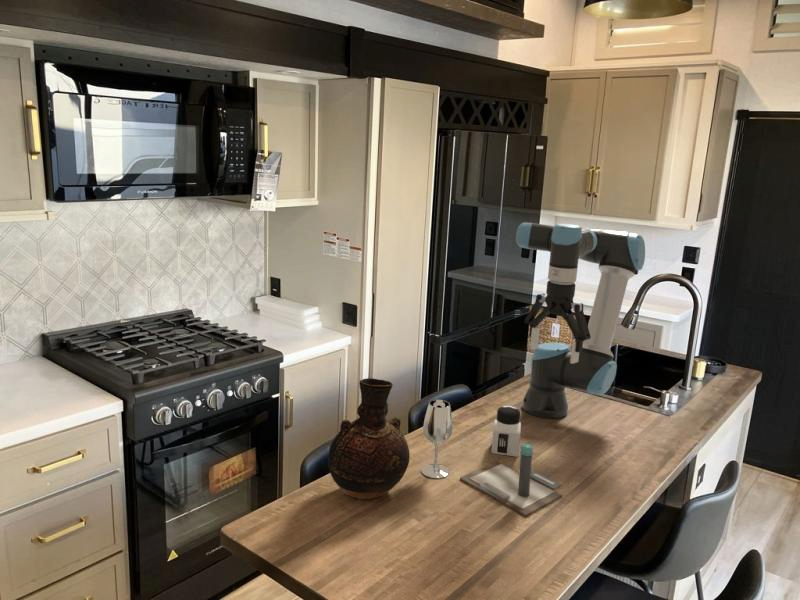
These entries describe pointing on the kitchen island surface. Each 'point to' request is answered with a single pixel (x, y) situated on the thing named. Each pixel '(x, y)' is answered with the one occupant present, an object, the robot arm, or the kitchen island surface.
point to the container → (506, 431)
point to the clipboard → (510, 488)
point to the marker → (525, 469)
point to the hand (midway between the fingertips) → (553, 355)
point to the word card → (545, 480)
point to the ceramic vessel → (369, 446)
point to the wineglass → (437, 434)
